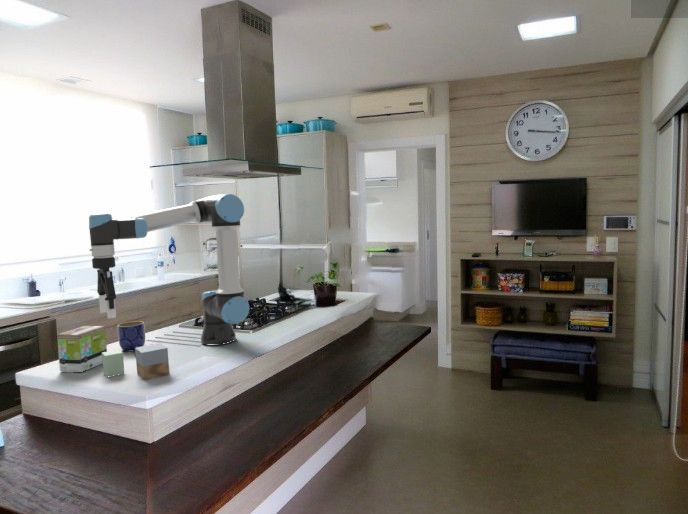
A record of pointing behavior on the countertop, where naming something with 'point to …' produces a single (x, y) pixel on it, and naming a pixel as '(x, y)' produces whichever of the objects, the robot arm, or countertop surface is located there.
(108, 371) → the green block
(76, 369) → the tea box
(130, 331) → the planter
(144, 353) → the tower top
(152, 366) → the tower base
